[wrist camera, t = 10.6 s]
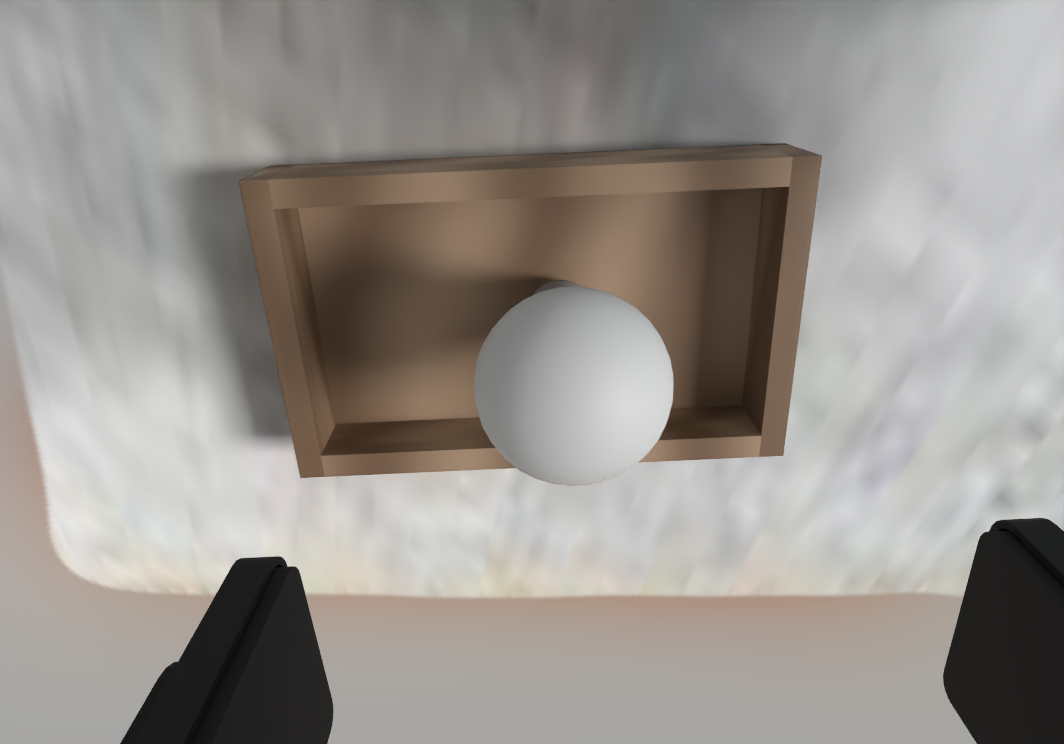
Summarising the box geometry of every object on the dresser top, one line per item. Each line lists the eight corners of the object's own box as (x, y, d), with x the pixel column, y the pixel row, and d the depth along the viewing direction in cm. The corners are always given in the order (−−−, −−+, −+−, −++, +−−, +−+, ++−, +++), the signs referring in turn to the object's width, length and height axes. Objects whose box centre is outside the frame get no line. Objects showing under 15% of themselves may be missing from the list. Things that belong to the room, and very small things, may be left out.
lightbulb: (662, 307, 29) (739, 440, 19) (551, 396, 31) (568, 562, 21) (566, 196, 27) (596, 280, 17) (453, 298, 29) (420, 428, 19)
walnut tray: (785, 143, 27) (821, 155, 24) (756, 415, 32) (782, 455, 29) (270, 165, 27) (238, 180, 24) (321, 435, 32) (300, 477, 29)
